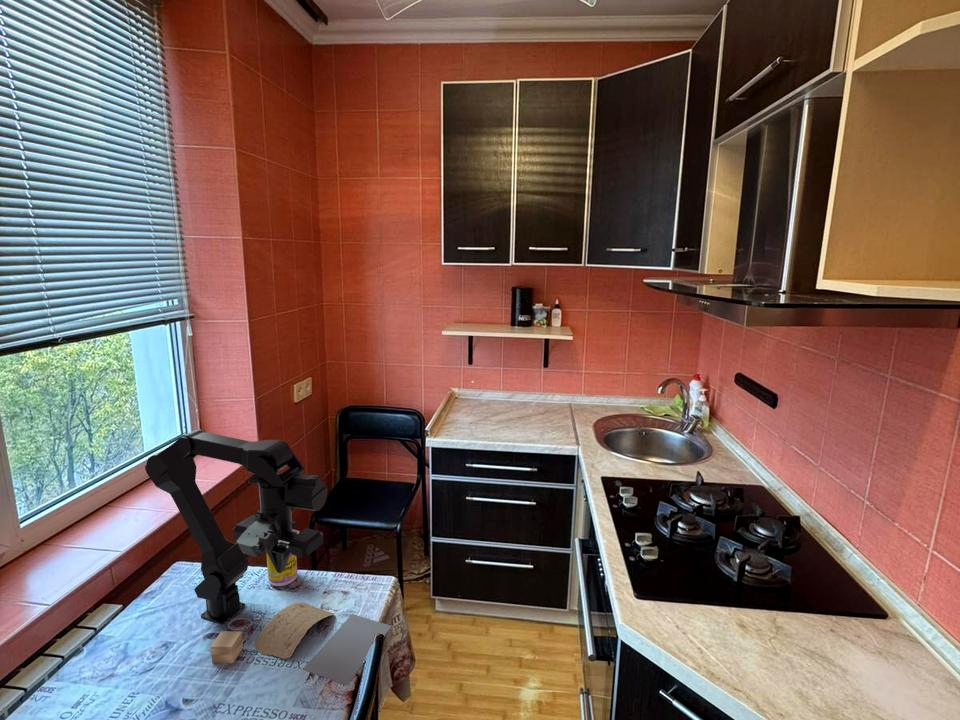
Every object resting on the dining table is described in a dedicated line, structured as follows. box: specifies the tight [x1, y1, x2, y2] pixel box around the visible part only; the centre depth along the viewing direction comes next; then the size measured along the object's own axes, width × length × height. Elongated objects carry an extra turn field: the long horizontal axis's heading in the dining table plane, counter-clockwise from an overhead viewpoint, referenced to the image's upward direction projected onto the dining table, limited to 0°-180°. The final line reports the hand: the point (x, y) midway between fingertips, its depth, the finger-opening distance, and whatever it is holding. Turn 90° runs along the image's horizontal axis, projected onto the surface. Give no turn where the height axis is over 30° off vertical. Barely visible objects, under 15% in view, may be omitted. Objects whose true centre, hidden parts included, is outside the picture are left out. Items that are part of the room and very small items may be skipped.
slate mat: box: [302, 613, 393, 686], centre depth 99 cm, size 10×16×1 cm, turn 160°
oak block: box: [210, 630, 244, 664], centre depth 96 cm, size 4×4×4 cm
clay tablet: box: [253, 602, 335, 659], centre depth 103 cm, size 14×10×3 cm
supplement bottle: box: [266, 553, 298, 587], centre depth 119 cm, size 7×7×13 cm
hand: (280, 571), depth 103 cm, fingers closed
